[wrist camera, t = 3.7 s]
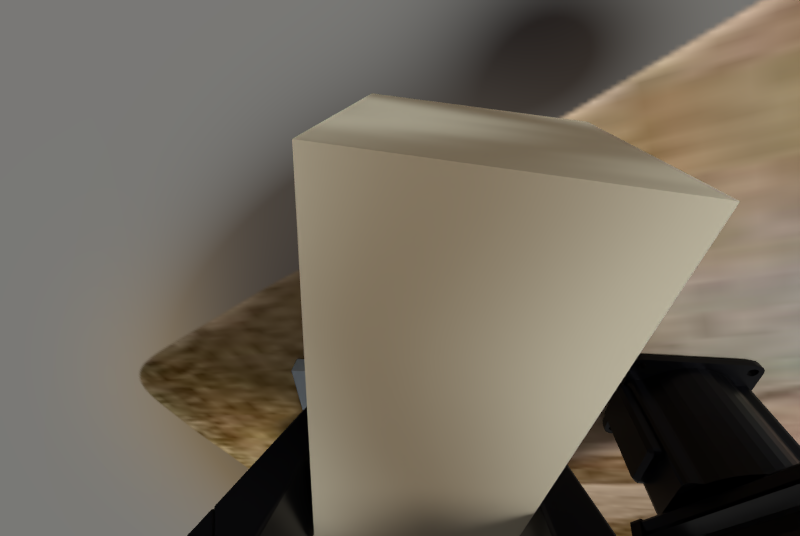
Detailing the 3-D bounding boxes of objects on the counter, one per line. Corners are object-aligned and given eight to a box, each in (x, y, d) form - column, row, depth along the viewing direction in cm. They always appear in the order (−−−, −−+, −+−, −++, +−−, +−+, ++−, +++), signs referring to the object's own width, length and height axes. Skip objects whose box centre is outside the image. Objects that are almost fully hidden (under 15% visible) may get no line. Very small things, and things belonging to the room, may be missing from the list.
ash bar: (587, 121, 6) (740, 201, 3) (449, 498, 14) (449, 642, 11) (371, 93, 7) (292, 139, 3) (349, 480, 14) (318, 616, 11)
